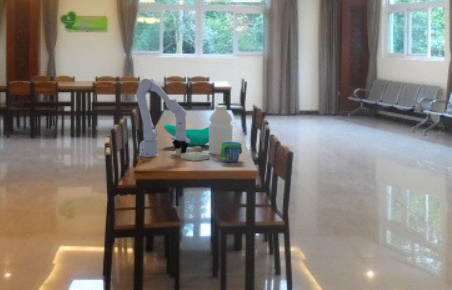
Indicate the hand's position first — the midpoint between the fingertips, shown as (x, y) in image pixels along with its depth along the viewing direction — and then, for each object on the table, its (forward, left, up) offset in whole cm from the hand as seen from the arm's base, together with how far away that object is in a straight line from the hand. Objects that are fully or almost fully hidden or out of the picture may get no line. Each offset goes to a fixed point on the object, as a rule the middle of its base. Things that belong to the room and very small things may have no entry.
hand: (180, 153), depth 370 cm
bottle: (+26, -5, -2) cm, 26 cm away
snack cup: (+12, -30, -2) cm, 32 cm away
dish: (+1, -12, -2) cm, 12 cm away
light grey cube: (+6, 0, -1) cm, 6 cm away
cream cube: (0, 0, -1) cm, 1 cm away
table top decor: (+32, +26, -2) cm, 42 cm away
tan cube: (+12, 0, -1) cm, 12 cm away
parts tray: (+6, 0, -2) cm, 6 cm away
